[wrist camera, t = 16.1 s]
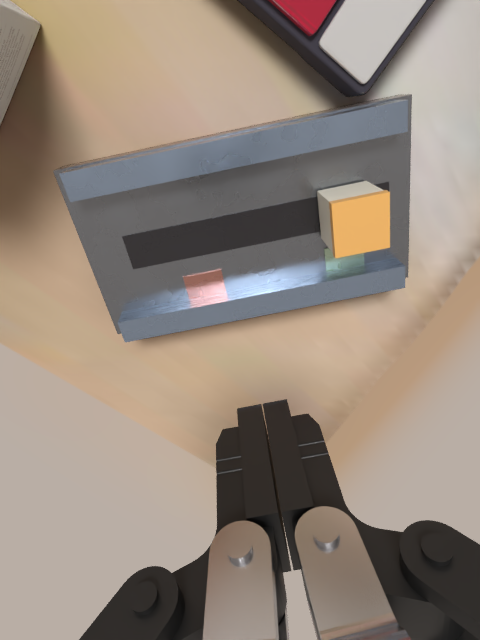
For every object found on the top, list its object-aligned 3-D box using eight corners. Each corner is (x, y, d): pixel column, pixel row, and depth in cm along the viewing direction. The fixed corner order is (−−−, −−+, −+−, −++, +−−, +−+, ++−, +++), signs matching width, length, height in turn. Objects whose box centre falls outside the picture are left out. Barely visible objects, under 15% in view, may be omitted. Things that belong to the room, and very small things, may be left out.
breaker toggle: (316, 190, 28) (331, 203, 25) (367, 179, 28) (389, 191, 24) (320, 239, 30) (335, 258, 26) (368, 229, 30) (390, 247, 26)
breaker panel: (62, 166, 29) (42, 175, 25) (399, 94, 28) (424, 94, 24) (122, 322, 35) (113, 345, 32) (397, 267, 34) (417, 286, 31)
